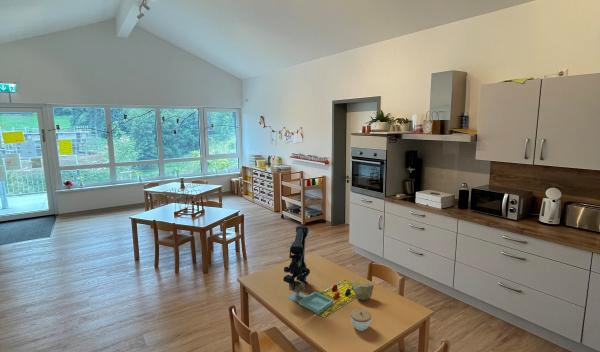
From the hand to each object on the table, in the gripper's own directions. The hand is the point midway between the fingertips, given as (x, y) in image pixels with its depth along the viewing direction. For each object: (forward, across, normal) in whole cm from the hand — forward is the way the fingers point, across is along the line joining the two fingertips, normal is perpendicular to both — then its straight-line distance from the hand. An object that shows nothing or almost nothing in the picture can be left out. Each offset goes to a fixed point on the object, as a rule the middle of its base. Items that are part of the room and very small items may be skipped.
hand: (297, 287), depth 209 cm
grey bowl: (+7, -27, +30) cm, 41 cm away
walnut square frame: (+1, 0, 0) cm, 1 cm away
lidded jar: (+7, -1, +46) cm, 47 cm away
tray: (+7, -2, +14) cm, 16 cm away
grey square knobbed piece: (+7, 0, 0) cm, 7 cm away
